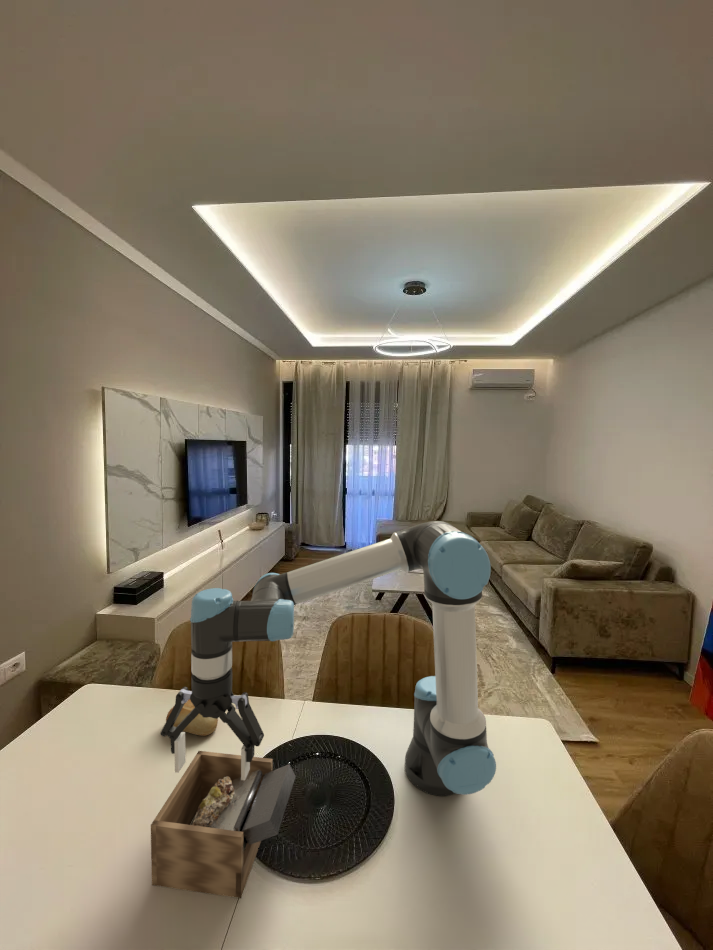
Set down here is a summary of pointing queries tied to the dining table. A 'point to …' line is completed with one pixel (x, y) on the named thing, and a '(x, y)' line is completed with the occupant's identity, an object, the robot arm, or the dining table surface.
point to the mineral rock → (214, 803)
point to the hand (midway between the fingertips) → (212, 771)
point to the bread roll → (195, 721)
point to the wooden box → (202, 833)
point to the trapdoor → (258, 804)
